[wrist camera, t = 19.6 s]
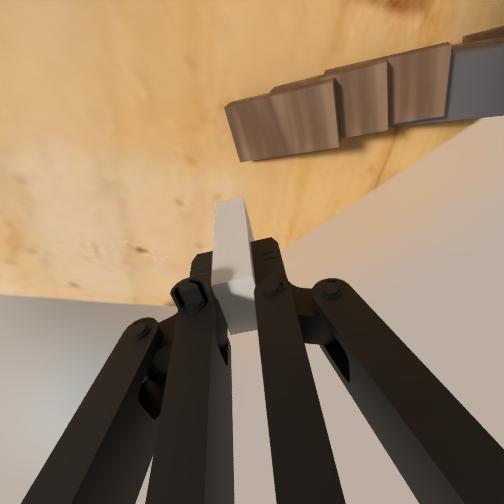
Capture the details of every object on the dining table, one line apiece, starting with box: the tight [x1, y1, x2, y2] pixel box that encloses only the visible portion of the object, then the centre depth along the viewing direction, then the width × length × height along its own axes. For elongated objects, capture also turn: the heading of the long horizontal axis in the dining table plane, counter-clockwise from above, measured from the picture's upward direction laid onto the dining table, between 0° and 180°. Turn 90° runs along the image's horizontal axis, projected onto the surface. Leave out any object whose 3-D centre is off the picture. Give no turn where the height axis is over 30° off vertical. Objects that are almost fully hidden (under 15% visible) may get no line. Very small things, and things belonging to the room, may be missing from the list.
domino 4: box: [388, 43, 504, 127], centre depth 31 cm, size 2×6×11 cm
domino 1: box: [224, 78, 341, 162], centre depth 32 cm, size 2×6×11 cm
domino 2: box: [270, 59, 388, 138], centre depth 32 cm, size 2×6×11 cm
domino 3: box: [324, 42, 452, 125], centre depth 31 cm, size 2×6×11 cm
